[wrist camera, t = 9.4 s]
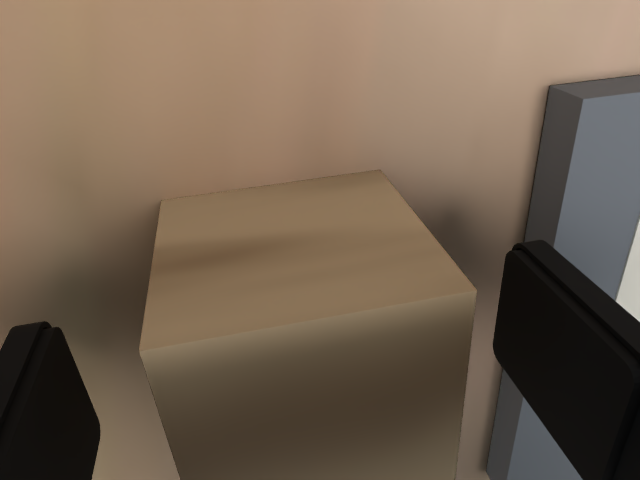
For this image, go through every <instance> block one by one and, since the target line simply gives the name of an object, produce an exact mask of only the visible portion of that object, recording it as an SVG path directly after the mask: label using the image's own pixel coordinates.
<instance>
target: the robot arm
mask: <svg viewBox="0 0 640 480" xmlns="http://www.w3.org/2000/svg"><path fill="white" fill-rule="evenodd" d="M493 350H494V354H495V357H496V359H497V360H498V362H499V363H500V365H501V366H502V367H503V369H504V370H505V372H506V373H507V374H508V376H509V377H510V379H511V380H512V381H513V383H514V384H515V386H516V387H517V388H518V390H519V391H520V393H521V394H522V395H523V397H524V398H525V400H526V401H527V402H528V404H529V405H530V407H531V408H532V409H533V411H534V412H535V414H536V415H537V416H538V418H539V419H540V421H541V422H542V423H543V425H544V426H545V428H546V429H547V430H548V432H549V433H550V435H551V436H552V437H553V439H554V440H555V442H556V443H557V444H558V446H559V447H560V449H561V450H562V451H563V453H564V454H565V456H566V457H567V458H568V460H569V461H570V463H571V464H572V465H573V467H574V468H575V470H576V471H577V472H578V474H579V475H580V477H581V478H582V479H583V480H640V322H639V321H638V320H637V319H636V318H635V317H633V316H632V315H631V314H630V313H629V312H628V311H626V310H625V309H624V308H623V307H622V306H621V305H619V304H618V303H617V302H616V301H615V300H614V299H612V298H611V297H610V296H609V295H608V294H607V293H605V292H604V291H603V290H602V289H601V288H600V287H598V286H597V285H596V284H595V283H594V282H593V281H591V280H590V279H589V278H588V277H587V276H586V275H584V274H583V273H582V272H581V271H580V270H579V269H577V268H576V267H575V266H574V265H573V264H572V263H570V262H569V261H568V260H567V259H566V258H565V257H563V256H562V255H561V254H560V253H559V252H558V251H556V250H555V249H554V248H553V247H552V246H551V245H549V244H548V243H547V242H546V241H544V240H535V241H529V242H523V243H517V244H515V245H514V247H513V248H512V251H509V252H508V253H507V254H506V258H505V264H504V271H503V278H502V285H501V291H500V298H499V305H498V312H497V319H496V325H495V332H494V339H493ZM99 441H100V424H99V420H98V417H97V415H96V412H95V410H94V407H93V405H92V403H91V400H90V398H89V395H88V393H87V390H86V388H85V386H84V383H83V381H82V378H81V376H80V373H79V371H78V369H77V366H76V364H75V361H74V359H73V356H72V354H71V352H70V349H69V347H68V344H67V342H66V339H65V337H64V335H63V332H62V330H61V329H60V328H59V327H53V328H52V327H51V325H50V324H49V323H48V322H45V321H44V322H38V323H32V324H26V325H20V326H15V327H13V328H12V329H11V330H10V332H9V334H8V336H7V338H6V340H5V342H4V344H3V346H2V348H1V350H0V480H92V475H93V470H94V465H95V461H96V456H97V451H98V446H99Z"/></svg>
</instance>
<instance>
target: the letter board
mask: <svg viewBox="0 0 640 480" xmlns="http://www.w3.org/2000/svg"><path fill="white" fill-rule="evenodd" d="M535 240H544V241H546V242H547V243H548V244H549V245H551V246H552V247H553V248H554V249H555V250H556V251H558V252H559V253H560V254H561V255H562V256H563V257H565V258H566V259H567V260H568V261H569V262H570V263H572V264H573V265H574V266H575V267H576V268H577V269H579V270H580V271H581V272H582V273H583V274H584V275H586V276H587V277H588V278H589V279H590V280H591V281H593V282H594V283H595V284H596V285H597V286H598V287H600V288H601V289H602V290H603V291H604V292H605V293H607V294H608V295H609V296H610V297H611V298H612V299H614V300H615V301H616V302H617V303H618V304H619V305H621V306H622V307H623V308H624V309H625V310H626V311H628V312H629V313H630V314H631V315H632V316H633V317H635V318H636V319H637V320H638V321H639V322H640V75H636V76H628V77H619V78H611V79H603V80H594V81H586V82H578V83H569V84H561V85H552V86H550V89H549V95H548V101H547V107H546V113H545V119H544V125H543V131H542V137H541V143H540V150H539V156H538V162H537V168H536V174H535V180H534V186H533V192H532V198H531V204H530V210H529V216H528V222H527V228H526V234H525V240H524V242H529V241H535ZM486 472H487V474H488V476H489V478H490V479H491V480H583V479H582V478H581V477H580V475H579V474H578V472H577V471H576V470H575V468H574V467H573V465H572V464H571V463H570V461H569V460H568V458H567V457H566V456H565V454H564V453H563V451H562V450H561V449H560V447H559V446H558V444H557V443H556V442H555V440H554V439H553V437H552V436H551V435H550V433H549V432H548V430H547V429H546V428H545V426H544V425H543V423H542V422H541V421H540V419H539V418H538V416H537V415H536V414H535V412H534V411H533V409H532V408H531V407H530V405H529V404H528V402H527V401H526V400H525V398H524V397H523V395H522V394H521V393H520V391H519V390H518V388H517V387H516V386H515V384H514V383H513V381H512V380H511V379H510V377H509V376H508V374H507V373H506V372H505V370H504V369H503V372H502V378H501V384H500V390H499V396H498V403H497V409H496V415H495V421H494V427H493V433H492V439H491V445H490V451H489V457H488V463H487V469H486Z"/></svg>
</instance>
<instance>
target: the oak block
mask: <svg viewBox="0 0 640 480" xmlns="http://www.w3.org/2000/svg"><path fill="white" fill-rule="evenodd" d="M476 295H477V290H476V288H475V287H474V286H473V285H472V283H471V282H470V281H469V280H468V278H467V277H466V276H465V275H464V273H463V272H462V271H461V270H460V268H459V267H458V266H457V265H456V263H455V262H454V261H453V260H452V258H451V257H450V256H449V255H448V253H447V252H446V251H445V250H444V249H443V247H442V246H441V245H440V244H439V242H438V241H437V240H436V239H435V237H434V236H433V235H432V234H431V232H430V231H429V230H428V229H427V227H426V226H425V225H424V224H423V222H422V221H421V220H420V219H419V217H418V216H417V215H416V214H415V212H414V211H413V210H412V209H411V208H410V206H409V205H408V204H407V203H406V201H405V200H404V199H403V198H402V196H401V195H400V194H399V193H398V191H397V190H396V189H395V188H394V186H393V185H392V184H391V183H390V181H389V180H388V179H387V178H386V176H385V175H384V174H383V173H382V171H381V170H374V171H367V172H360V173H353V174H346V175H339V176H332V177H324V178H317V179H310V180H303V181H296V182H289V183H282V184H274V185H267V186H260V187H253V188H246V189H239V190H232V191H224V192H217V193H210V194H203V195H196V196H189V197H182V198H174V199H167V200H161V206H160V212H159V219H158V226H157V233H156V239H155V246H154V253H153V260H152V266H151V273H150V280H149V286H148V293H147V300H146V307H145V313H144V320H143V327H142V334H141V340H140V347H139V353H140V356H141V359H142V363H143V366H144V369H145V372H146V375H147V378H148V381H149V384H150V387H151V390H152V393H153V396H154V400H155V403H156V406H157V409H158V412H159V415H160V418H161V421H162V424H163V427H164V430H165V433H166V436H167V440H168V443H169V446H170V449H171V452H172V455H173V458H174V461H175V464H176V467H177V470H178V473H179V476H180V480H455V476H456V467H457V459H458V450H459V441H460V433H461V424H462V416H463V407H464V398H465V390H466V381H467V372H468V364H469V355H470V347H471V338H472V329H473V321H474V312H475V304H476Z"/></svg>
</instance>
